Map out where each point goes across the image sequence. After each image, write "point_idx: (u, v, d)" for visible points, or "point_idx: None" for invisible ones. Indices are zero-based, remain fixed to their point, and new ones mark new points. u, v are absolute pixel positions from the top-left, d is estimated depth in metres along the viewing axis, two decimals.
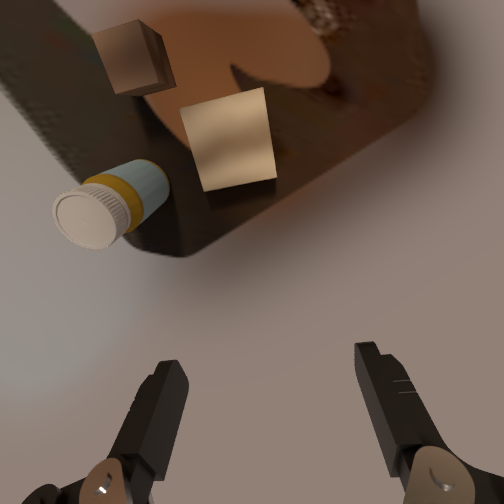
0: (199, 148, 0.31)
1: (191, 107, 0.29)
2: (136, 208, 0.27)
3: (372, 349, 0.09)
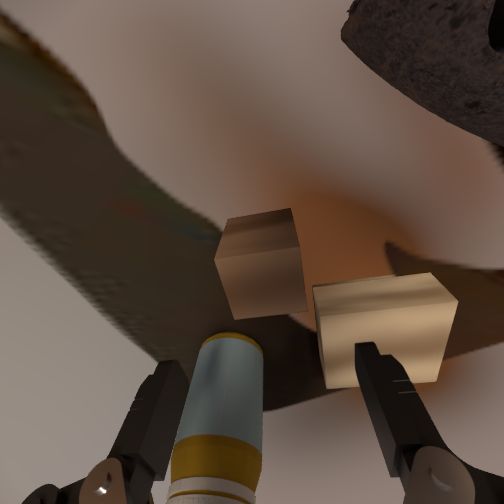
0: (335, 353, 0.22)
1: (339, 316, 0.19)
2: (258, 477, 0.18)
3: (372, 349, 0.09)
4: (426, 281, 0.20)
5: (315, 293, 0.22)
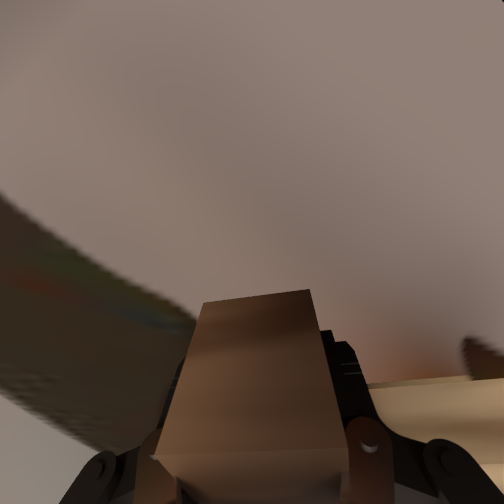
0: None
1: None
2: None
3: (328, 336, 0.10)
4: None
5: None
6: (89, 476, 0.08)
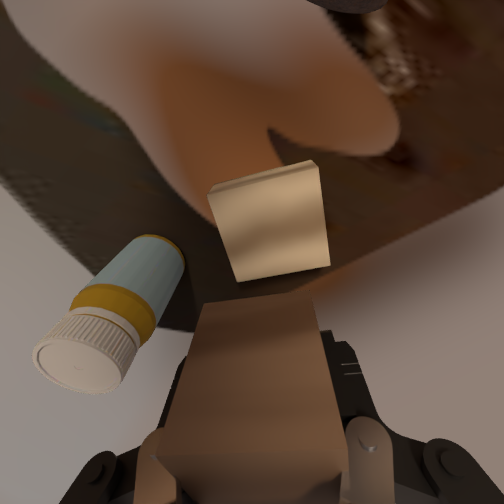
0: (232, 237, 0.24)
1: (222, 193, 0.22)
2: (147, 326, 0.21)
3: (328, 336, 0.10)
4: (304, 164, 0.23)
5: (213, 186, 0.25)
6: (89, 476, 0.08)
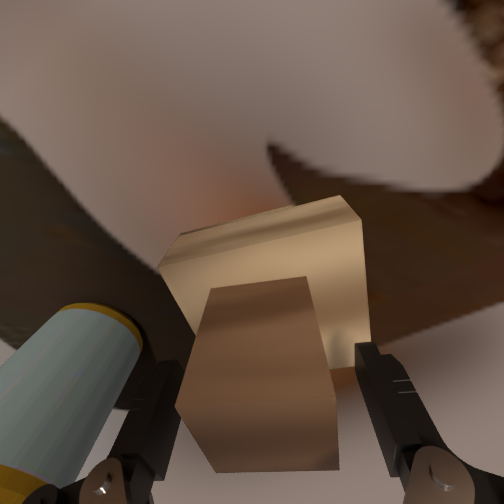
0: None
1: (185, 264, 0.12)
2: None
3: (372, 349, 0.09)
4: (328, 205, 0.13)
5: (176, 241, 0.15)
6: None
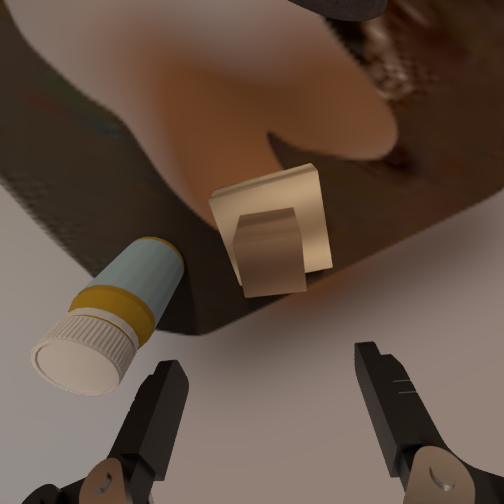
0: None
1: (224, 198, 0.22)
2: (146, 328, 0.21)
3: (372, 349, 0.09)
4: (303, 167, 0.23)
5: (214, 191, 0.25)
6: None
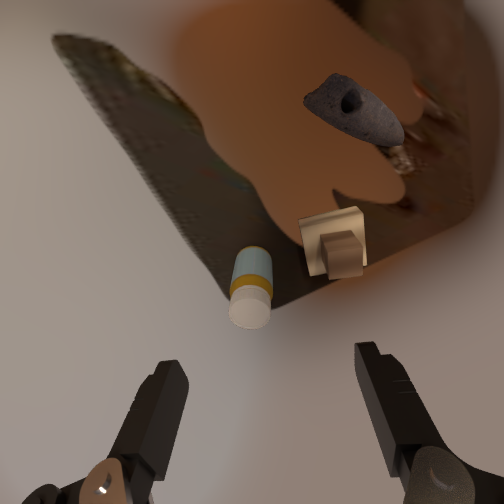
0: (311, 250, 0.43)
1: (309, 227, 0.41)
2: (271, 296, 0.39)
3: (372, 349, 0.09)
4: (352, 209, 0.41)
5: (299, 221, 0.43)
6: None
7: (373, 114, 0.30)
